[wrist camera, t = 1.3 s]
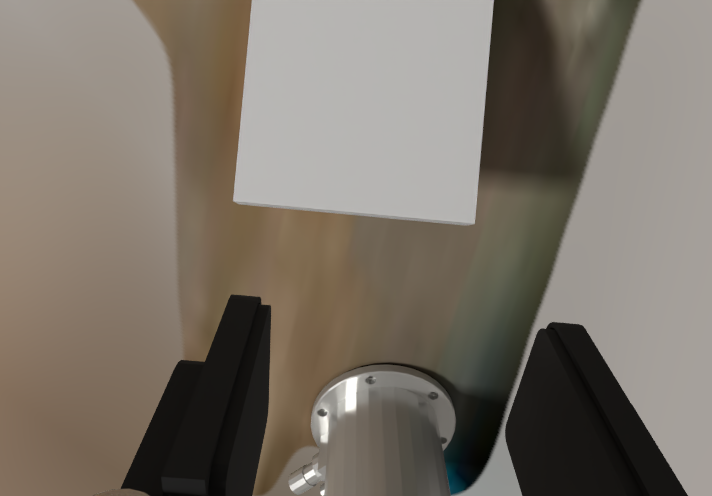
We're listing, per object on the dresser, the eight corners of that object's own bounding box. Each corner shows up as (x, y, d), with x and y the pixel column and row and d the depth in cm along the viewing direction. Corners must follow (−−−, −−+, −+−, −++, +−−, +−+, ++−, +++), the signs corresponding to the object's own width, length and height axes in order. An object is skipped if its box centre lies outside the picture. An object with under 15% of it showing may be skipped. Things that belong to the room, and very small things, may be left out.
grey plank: (267, -100, 27) (263, -121, 26) (492, -73, 28) (501, -92, 26) (238, 204, 27) (233, 201, 25) (466, 225, 28) (474, 223, 26)
